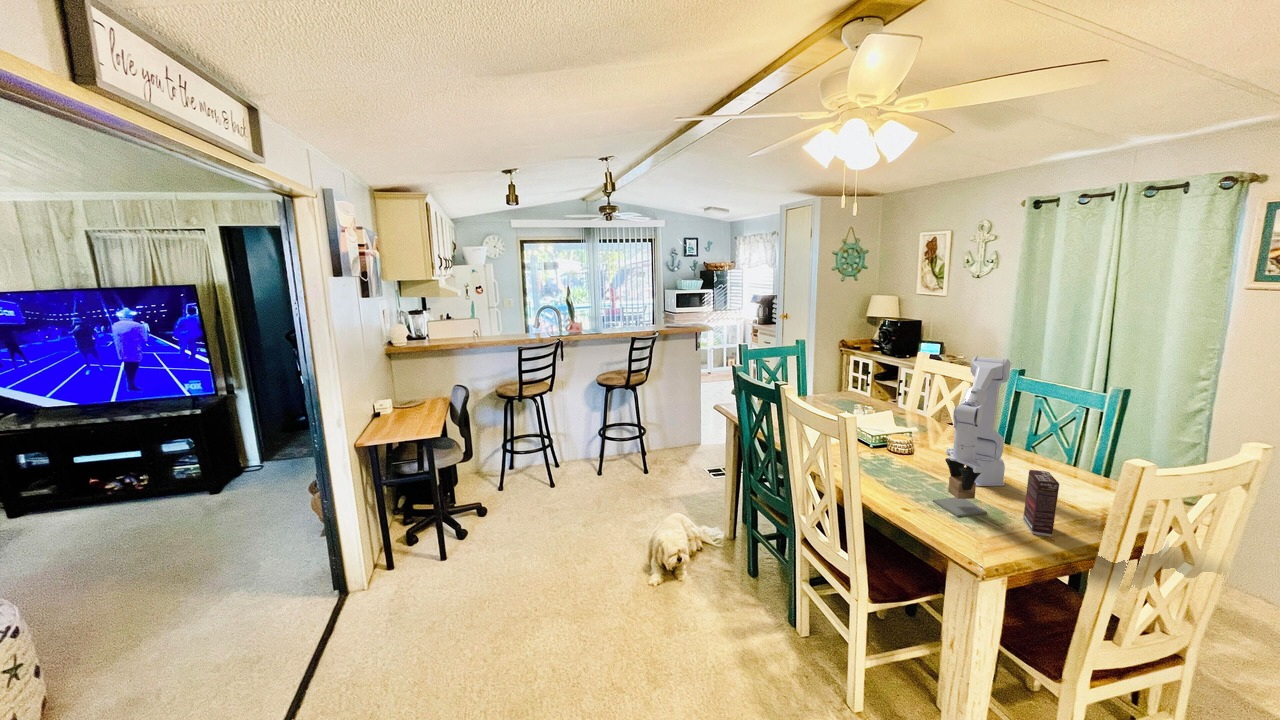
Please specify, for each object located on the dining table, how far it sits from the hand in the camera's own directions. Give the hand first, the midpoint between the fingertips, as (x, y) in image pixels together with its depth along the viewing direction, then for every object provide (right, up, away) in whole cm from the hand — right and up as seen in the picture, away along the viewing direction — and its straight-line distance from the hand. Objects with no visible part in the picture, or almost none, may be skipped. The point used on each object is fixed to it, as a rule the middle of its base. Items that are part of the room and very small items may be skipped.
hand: (961, 485), depth 152 cm
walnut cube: (0, -3, +1) cm, 3 cm away
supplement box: (+14, -9, -12) cm, 21 cm away
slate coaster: (0, -7, +1) cm, 7 cm away
